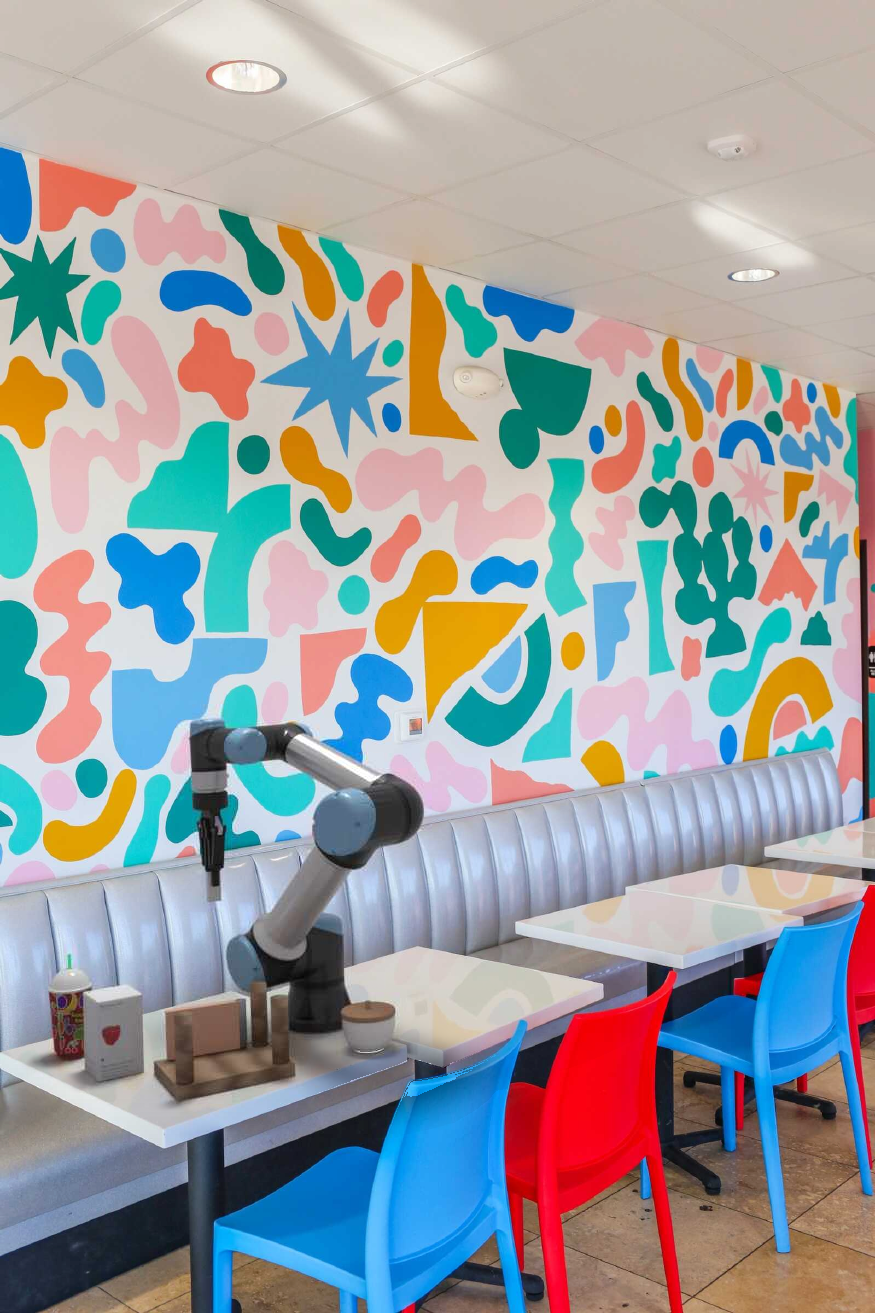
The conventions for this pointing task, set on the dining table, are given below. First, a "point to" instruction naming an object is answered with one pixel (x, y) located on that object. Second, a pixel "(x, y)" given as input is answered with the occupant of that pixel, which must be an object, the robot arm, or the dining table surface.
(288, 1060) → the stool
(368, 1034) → the lidded jar
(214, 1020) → the leg panel
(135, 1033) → the supplement box
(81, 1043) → the smoothie
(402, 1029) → the dining table surface
